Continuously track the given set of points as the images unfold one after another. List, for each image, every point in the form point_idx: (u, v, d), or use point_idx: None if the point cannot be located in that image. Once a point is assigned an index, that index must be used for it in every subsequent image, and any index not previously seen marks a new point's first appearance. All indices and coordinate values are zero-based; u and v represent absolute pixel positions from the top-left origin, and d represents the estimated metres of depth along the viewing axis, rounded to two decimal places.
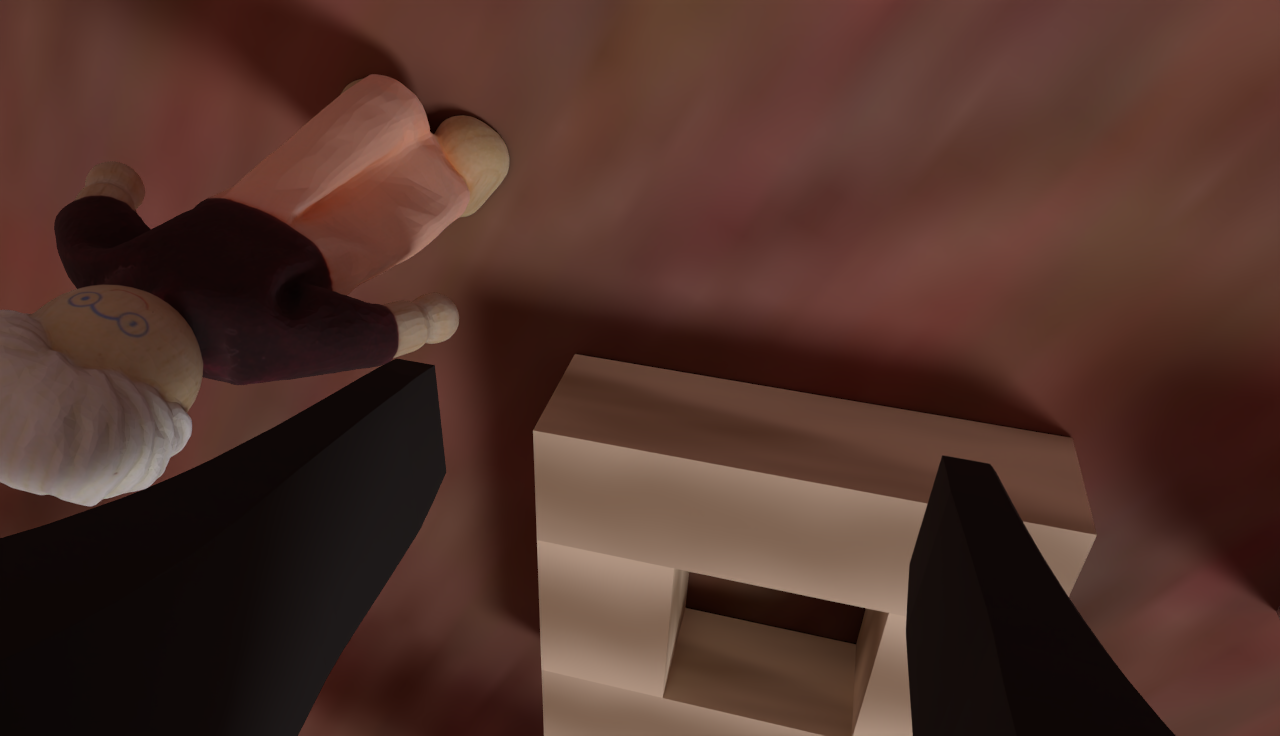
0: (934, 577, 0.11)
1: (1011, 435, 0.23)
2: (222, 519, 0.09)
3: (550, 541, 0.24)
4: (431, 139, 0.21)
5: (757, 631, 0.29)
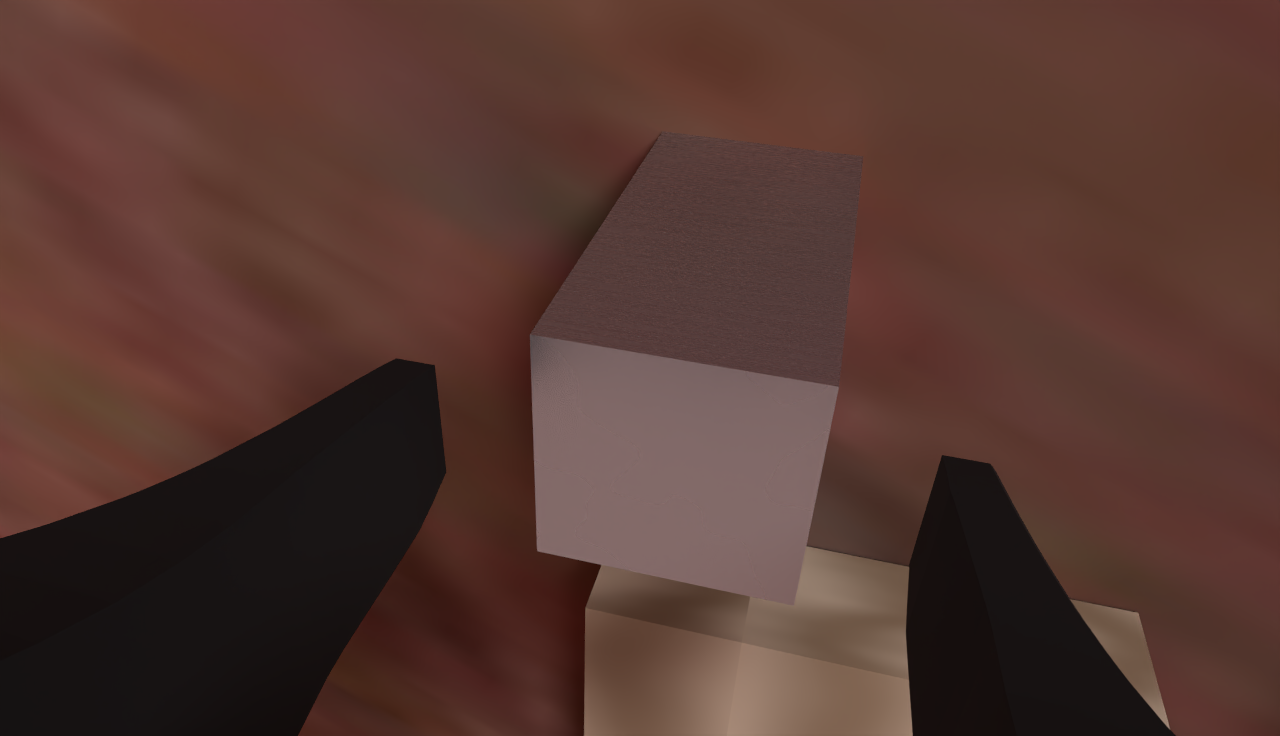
0: (934, 577, 0.11)
1: None
2: (220, 520, 0.09)
3: None
4: None
5: None
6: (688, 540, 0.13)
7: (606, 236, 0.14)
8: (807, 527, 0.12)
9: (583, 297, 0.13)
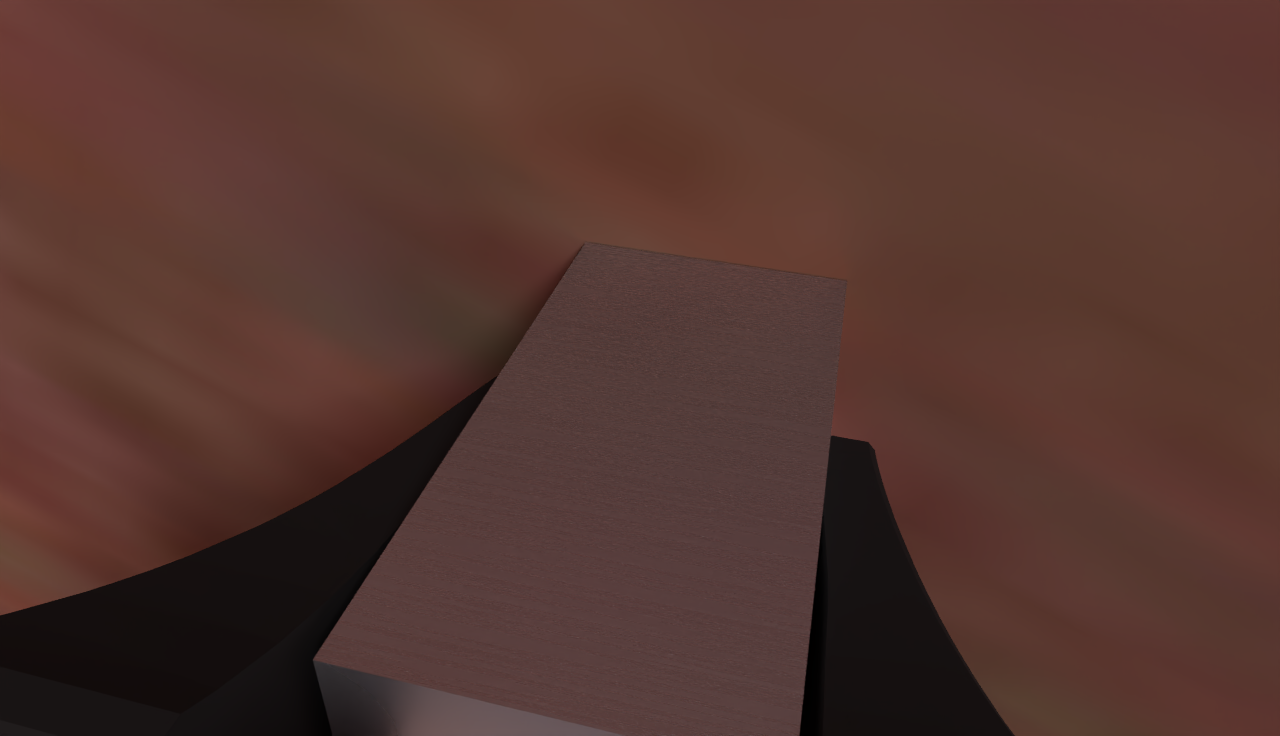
0: None
1: None
2: (359, 550, 0.09)
3: None
4: None
5: None
6: None
7: (474, 439, 0.10)
8: None
9: (415, 570, 0.08)
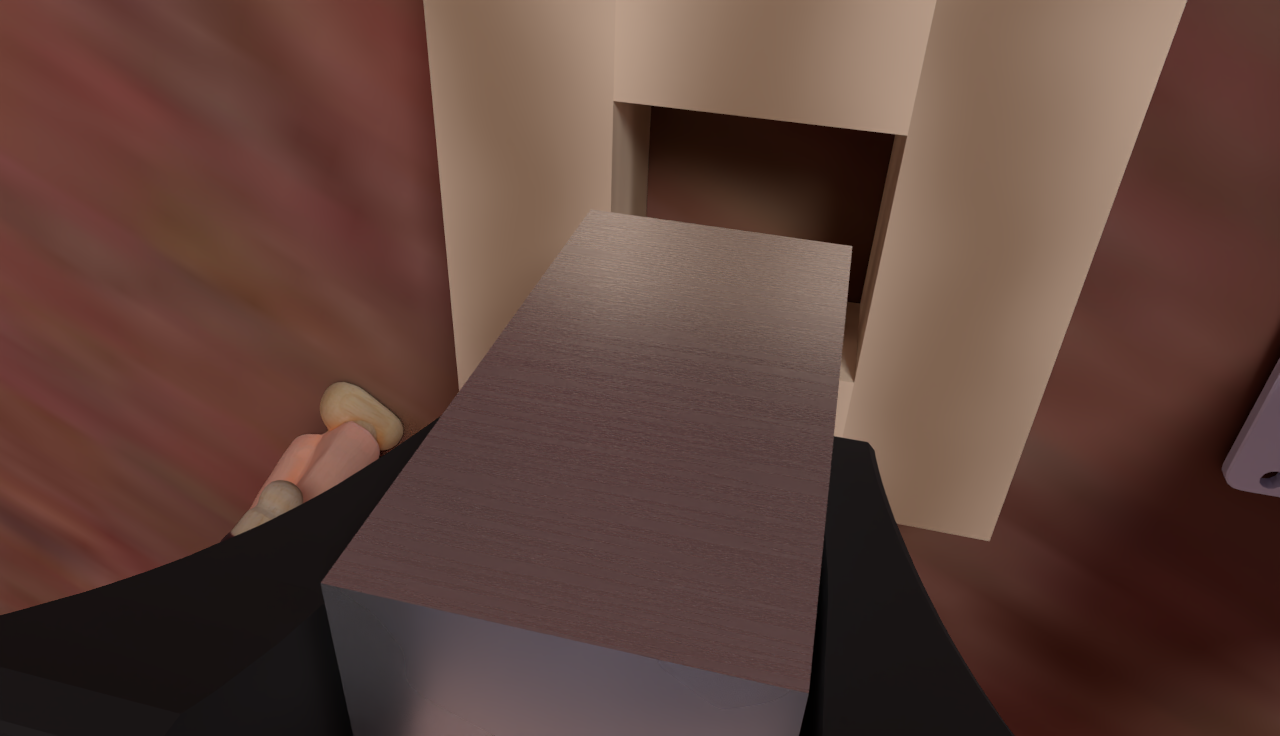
0: None
1: None
2: None
3: None
4: (322, 436, 0.28)
5: (878, 219, 0.21)
6: None
7: (481, 385, 0.10)
8: None
9: (423, 502, 0.08)
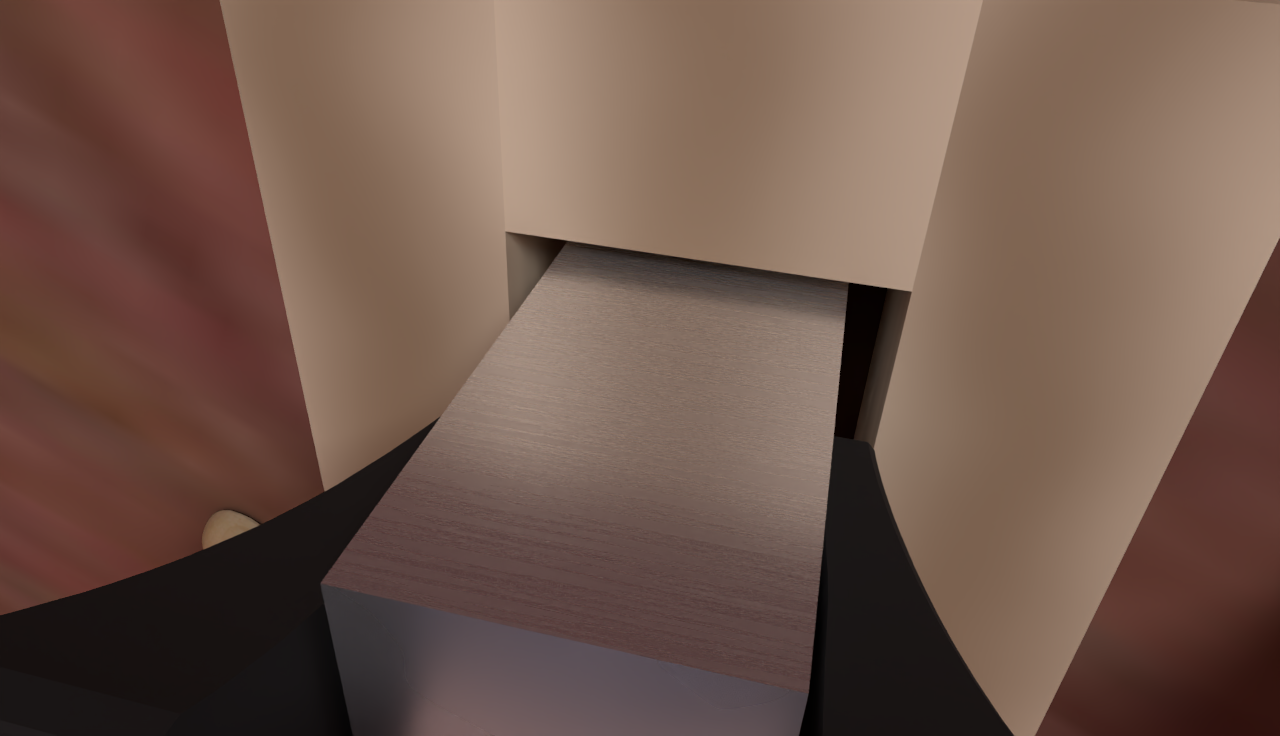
0: None
1: None
2: None
3: None
4: None
5: (873, 358, 0.16)
6: None
7: (481, 386, 0.10)
8: None
9: (423, 503, 0.08)
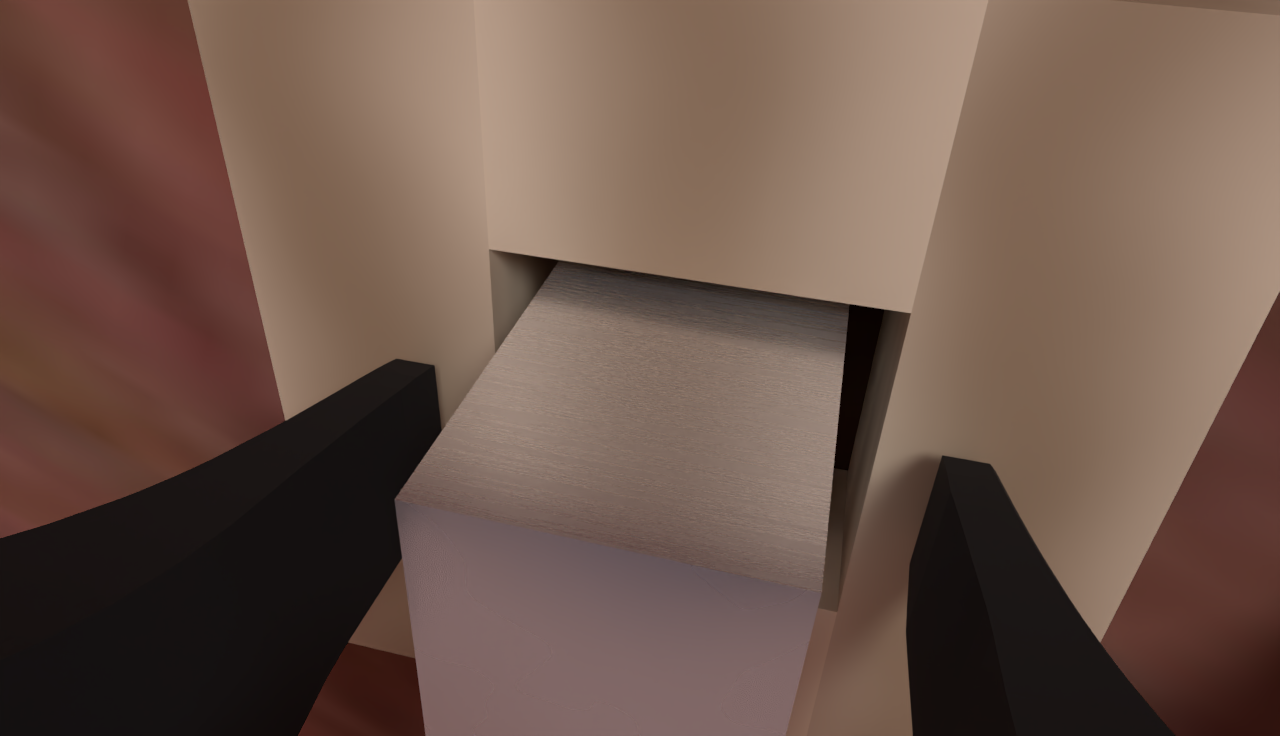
0: (934, 577, 0.11)
1: None
2: (222, 520, 0.09)
3: None
4: None
5: (871, 376, 0.15)
6: None
7: (523, 336, 0.11)
8: None
9: (479, 435, 0.09)
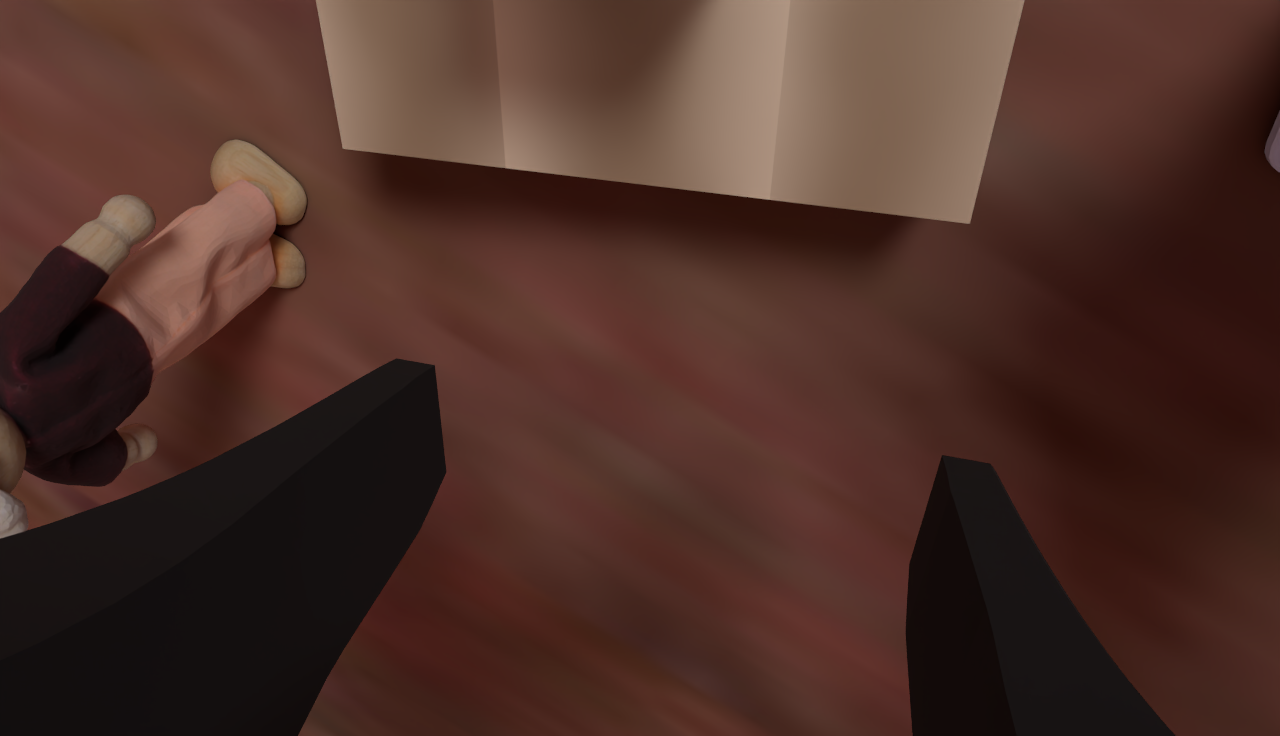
0: (934, 577, 0.11)
1: None
2: (220, 520, 0.09)
3: (505, 150, 0.18)
4: None
5: None
6: None
7: None
8: None
9: None
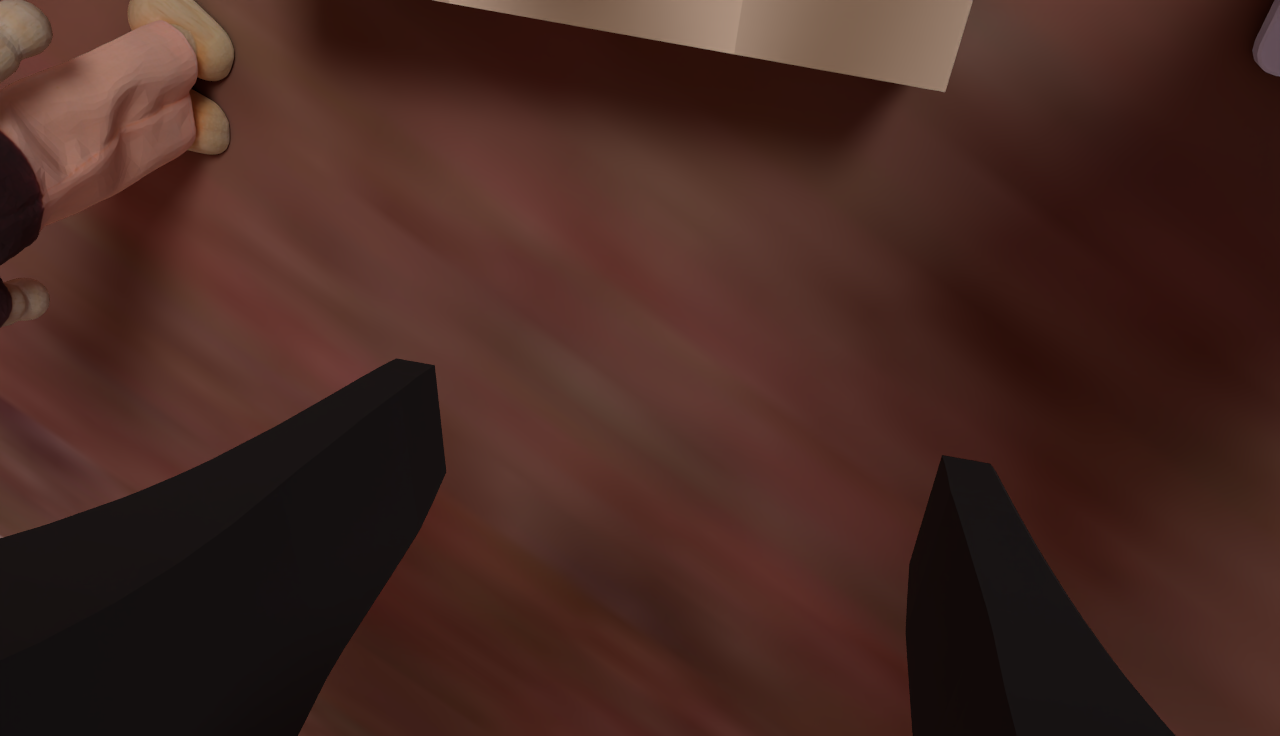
0: (934, 577, 0.11)
1: None
2: (222, 520, 0.09)
3: None
4: None
5: None
6: None
7: None
8: None
9: None
